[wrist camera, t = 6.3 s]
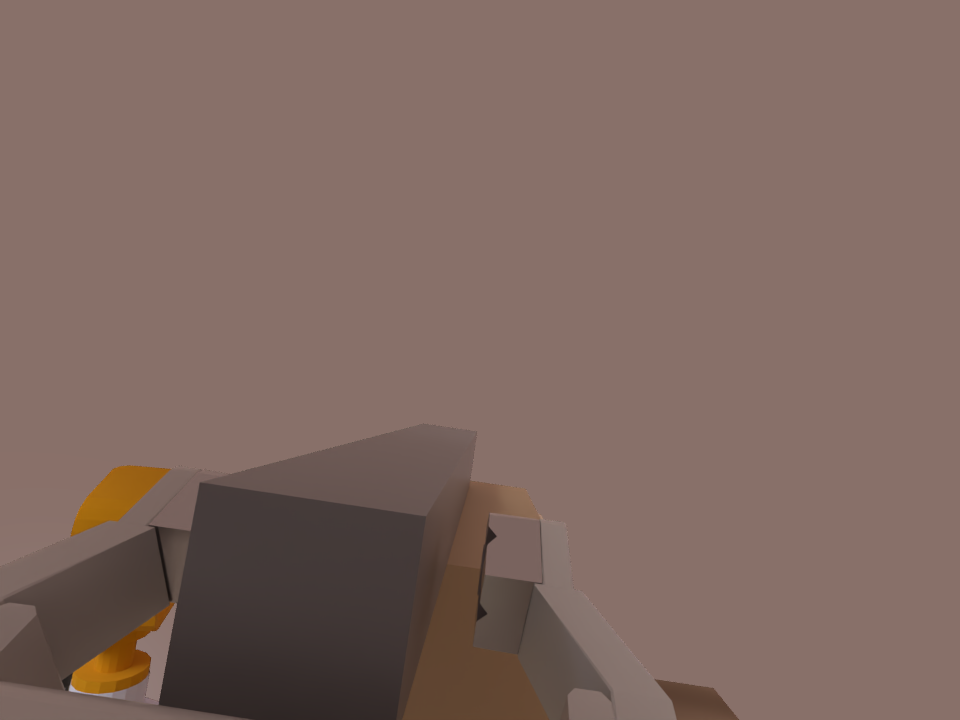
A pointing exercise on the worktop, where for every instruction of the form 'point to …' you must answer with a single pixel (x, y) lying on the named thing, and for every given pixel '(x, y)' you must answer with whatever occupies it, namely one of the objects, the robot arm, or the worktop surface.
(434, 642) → the parcel box
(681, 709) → the walnut crate
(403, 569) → the grey square rod
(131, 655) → the soap bottle
